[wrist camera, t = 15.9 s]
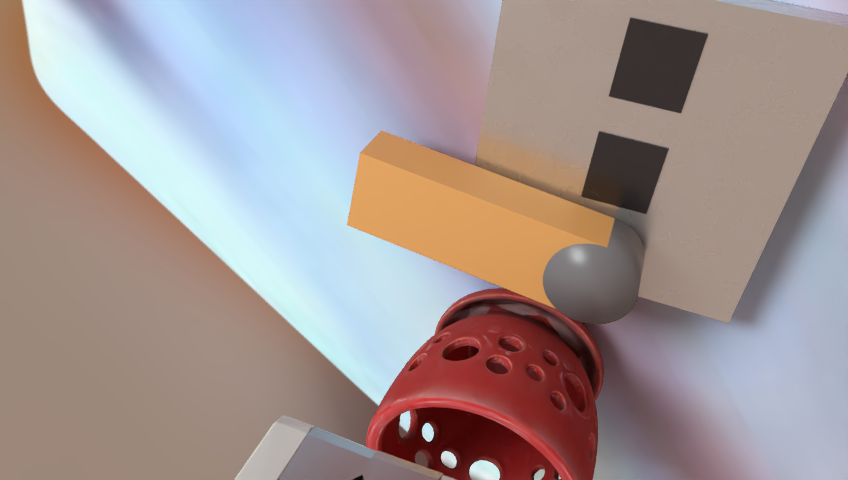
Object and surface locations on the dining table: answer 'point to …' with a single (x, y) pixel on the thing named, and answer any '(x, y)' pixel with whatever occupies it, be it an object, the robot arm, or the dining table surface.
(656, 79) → the panel
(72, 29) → the dining table surface
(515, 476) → the plant pot
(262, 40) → the dining table surface
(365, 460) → the robot arm
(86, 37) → the dining table surface
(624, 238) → the swing bar
